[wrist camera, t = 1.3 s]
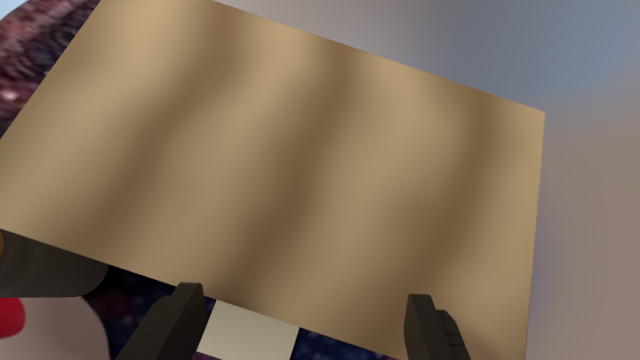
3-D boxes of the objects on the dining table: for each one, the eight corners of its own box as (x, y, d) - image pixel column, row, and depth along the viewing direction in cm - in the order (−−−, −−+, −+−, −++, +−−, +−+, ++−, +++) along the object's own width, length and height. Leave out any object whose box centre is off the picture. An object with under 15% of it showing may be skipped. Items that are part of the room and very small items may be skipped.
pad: (197, 350, 34) (196, 351, 33) (221, 290, 36) (220, 290, 36) (283, 378, 34) (283, 379, 34) (302, 316, 36) (302, 316, 36)
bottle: (98, 301, 34) (-28, 304, 20) (38, 292, 34) (-133, 289, 20) (117, 243, 36) (15, 209, 22) (61, 234, 36) (-79, 194, 22)
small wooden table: (154, 264, 36) (-52, 210, 13) (208, 150, 41) (123, -30, 18) (370, 336, 36) (522, 400, 14) (398, 213, 41) (545, 112, 18)
